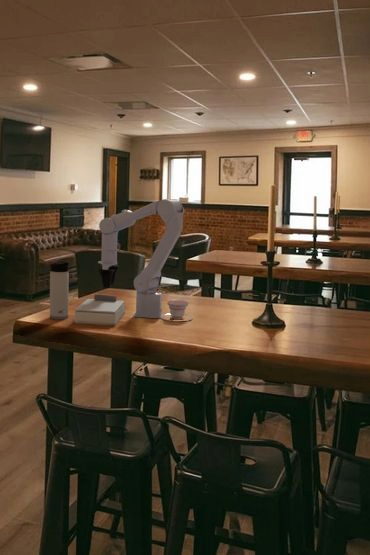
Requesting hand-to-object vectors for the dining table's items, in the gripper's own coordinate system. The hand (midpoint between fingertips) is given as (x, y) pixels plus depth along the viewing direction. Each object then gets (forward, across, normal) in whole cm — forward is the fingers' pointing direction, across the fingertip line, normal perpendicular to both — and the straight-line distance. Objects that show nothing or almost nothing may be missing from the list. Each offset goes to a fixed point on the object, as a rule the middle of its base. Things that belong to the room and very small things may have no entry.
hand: (108, 286), depth 200 cm
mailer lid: (+5, +13, 0) cm, 14 cm away
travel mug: (+10, +16, -14) cm, 23 cm away
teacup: (+10, +6, +27) cm, 29 cm away
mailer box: (+9, +13, 0) cm, 16 cm away
